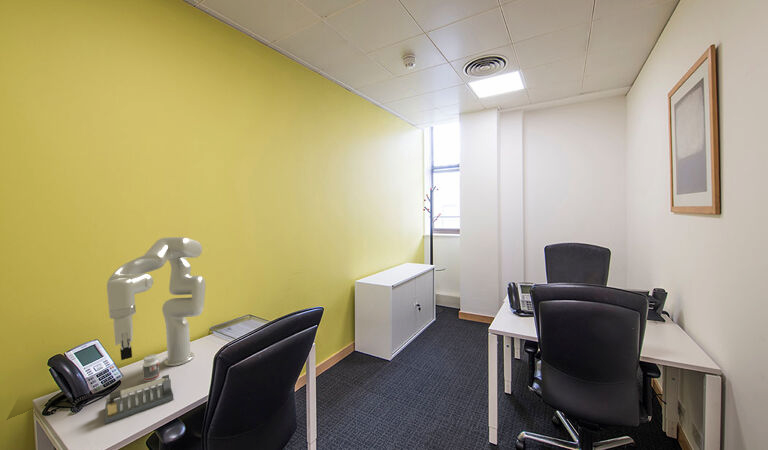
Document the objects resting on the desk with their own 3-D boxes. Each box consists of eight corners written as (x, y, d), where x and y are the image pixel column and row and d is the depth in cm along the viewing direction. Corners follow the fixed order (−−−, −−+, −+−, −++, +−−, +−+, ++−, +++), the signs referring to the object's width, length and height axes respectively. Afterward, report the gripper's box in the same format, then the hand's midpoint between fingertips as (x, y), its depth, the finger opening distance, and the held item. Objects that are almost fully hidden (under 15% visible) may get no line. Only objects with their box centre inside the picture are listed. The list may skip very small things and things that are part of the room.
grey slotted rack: (105, 408, 115) (104, 390, 115) (169, 386, 129) (168, 371, 128) (105, 424, 106) (103, 405, 106) (173, 399, 120) (172, 382, 119)
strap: (167, 378, 125) (166, 375, 125) (168, 382, 122) (168, 379, 122) (110, 395, 113) (109, 393, 113) (109, 400, 110) (109, 398, 110)
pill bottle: (161, 376, 137) (160, 355, 136) (147, 383, 132) (145, 361, 131) (155, 373, 140) (154, 352, 139) (141, 379, 135) (139, 358, 134)
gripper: (109, 308, 116) (113, 354, 118) (108, 319, 105) (113, 369, 107) (134, 304, 121) (138, 347, 123) (136, 314, 110) (140, 362, 112)
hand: (126, 357), depth 115 cm, fingers closed
